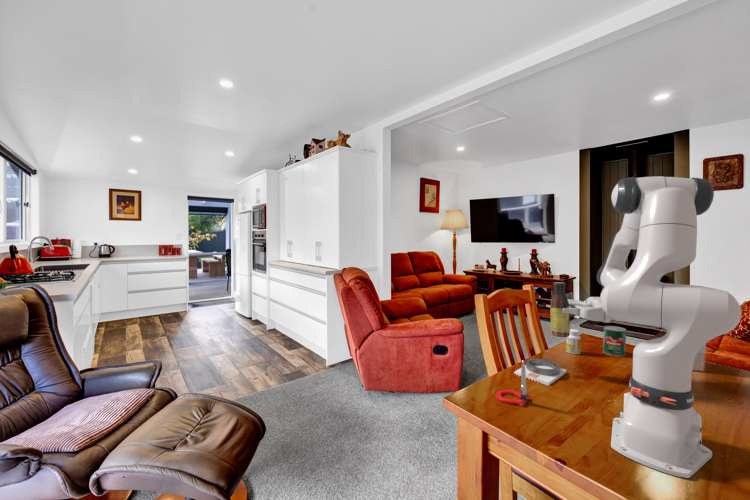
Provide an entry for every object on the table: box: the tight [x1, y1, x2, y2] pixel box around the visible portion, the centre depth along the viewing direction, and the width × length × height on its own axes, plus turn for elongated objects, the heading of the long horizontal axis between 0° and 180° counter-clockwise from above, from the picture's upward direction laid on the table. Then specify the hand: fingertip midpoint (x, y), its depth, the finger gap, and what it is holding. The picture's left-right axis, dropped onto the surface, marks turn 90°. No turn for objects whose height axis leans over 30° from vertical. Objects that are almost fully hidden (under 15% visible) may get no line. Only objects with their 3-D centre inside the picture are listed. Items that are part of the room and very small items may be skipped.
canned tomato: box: [602, 325, 627, 357], centre depth 142 cm, size 8×8×11 cm
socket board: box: [513, 358, 567, 386], centre depth 121 cm, size 16×12×3 cm
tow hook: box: [495, 359, 531, 407], centre depth 103 cm, size 8×13×9 cm
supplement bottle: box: [565, 328, 582, 355], centre depth 144 cm, size 5×5×10 cm
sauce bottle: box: [549, 281, 571, 338], centre depth 123 cm, size 7×6×20 cm
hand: (557, 308), depth 123 cm, fingers closed on sauce bottle, 6 cm apart
